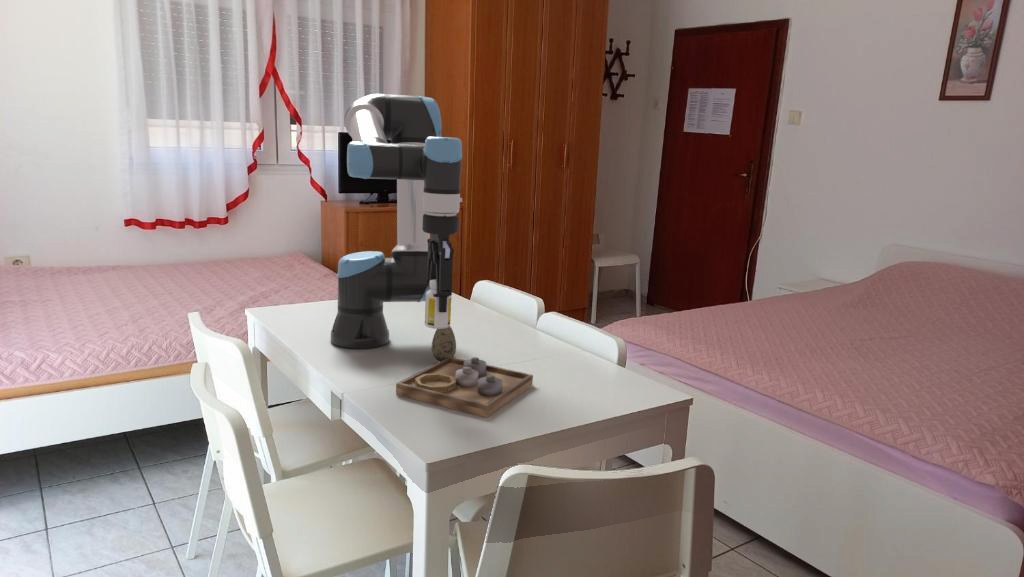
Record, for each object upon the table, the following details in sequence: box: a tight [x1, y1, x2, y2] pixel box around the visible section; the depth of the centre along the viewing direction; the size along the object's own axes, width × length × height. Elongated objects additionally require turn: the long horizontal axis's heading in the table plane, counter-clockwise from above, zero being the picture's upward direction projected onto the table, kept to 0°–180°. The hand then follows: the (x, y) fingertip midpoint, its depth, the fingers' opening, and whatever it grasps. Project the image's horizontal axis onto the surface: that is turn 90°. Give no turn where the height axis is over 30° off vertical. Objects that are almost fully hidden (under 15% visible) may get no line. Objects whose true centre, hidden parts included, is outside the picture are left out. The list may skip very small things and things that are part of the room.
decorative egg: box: [431, 325, 457, 362], centre depth 171 cm, size 6×6×10 cm
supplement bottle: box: [424, 279, 452, 330], centre depth 148 cm, size 5×5×10 cm
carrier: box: [395, 356, 534, 418], centre depth 154 cm, size 22×22×5 cm
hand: (437, 322), depth 149 cm, fingers closed on supplement bottle, 5 cm apart
